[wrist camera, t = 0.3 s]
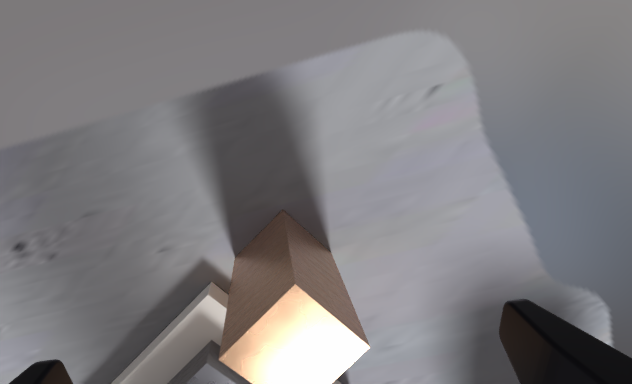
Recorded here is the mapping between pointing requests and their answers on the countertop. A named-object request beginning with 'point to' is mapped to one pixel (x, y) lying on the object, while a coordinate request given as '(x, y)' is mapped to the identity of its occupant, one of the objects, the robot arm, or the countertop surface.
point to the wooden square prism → (289, 311)
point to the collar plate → (188, 347)
